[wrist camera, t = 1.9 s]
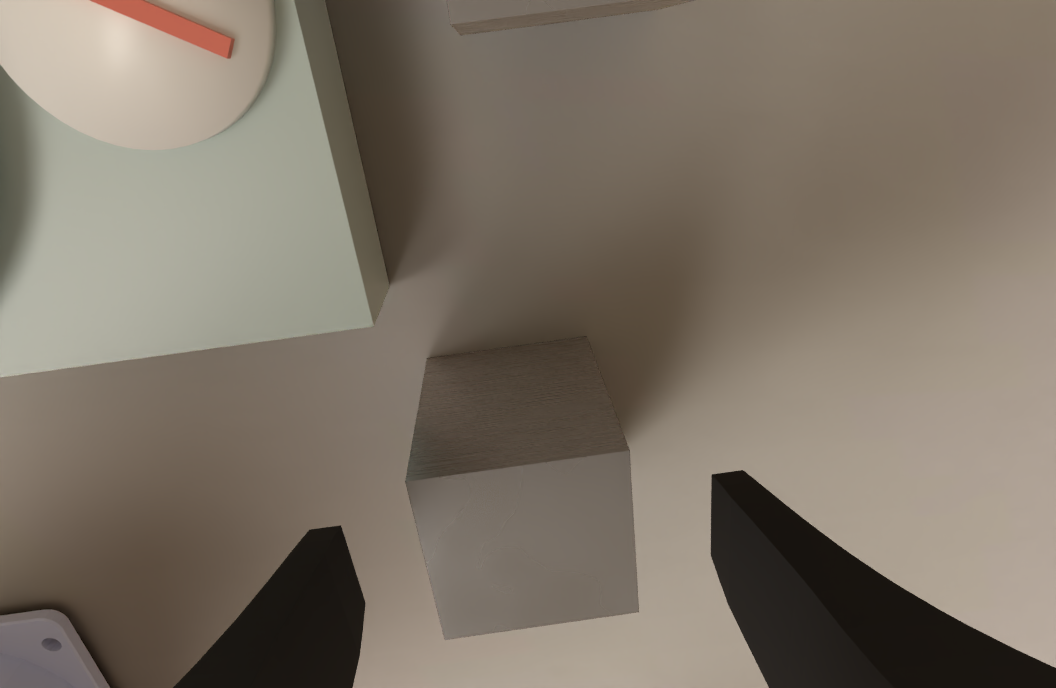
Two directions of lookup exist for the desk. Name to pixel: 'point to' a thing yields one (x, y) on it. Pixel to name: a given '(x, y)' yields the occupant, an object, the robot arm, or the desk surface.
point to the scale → (176, 181)
